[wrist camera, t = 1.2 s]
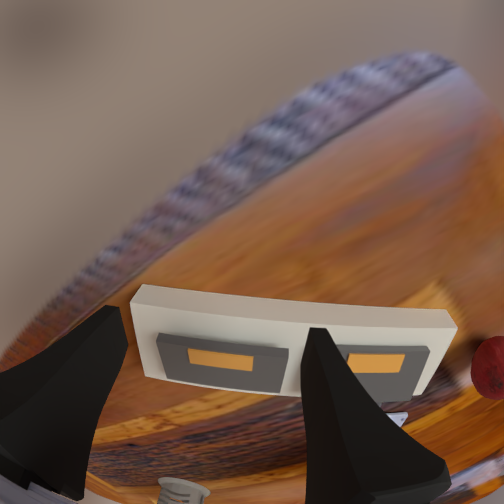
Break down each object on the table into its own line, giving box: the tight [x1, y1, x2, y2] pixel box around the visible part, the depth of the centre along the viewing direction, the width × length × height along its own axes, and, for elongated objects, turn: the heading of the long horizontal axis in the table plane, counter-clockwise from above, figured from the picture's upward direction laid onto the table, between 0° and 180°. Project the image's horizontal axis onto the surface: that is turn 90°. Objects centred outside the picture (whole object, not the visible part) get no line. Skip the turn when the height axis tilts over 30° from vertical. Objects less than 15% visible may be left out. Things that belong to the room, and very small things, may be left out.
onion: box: [471, 336, 504, 400], centre depth 20 cm, size 6×6×8 cm
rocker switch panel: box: [130, 284, 458, 407], centre depth 24 cm, size 12×25×3 cm, turn 86°
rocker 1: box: [156, 333, 289, 393], centre depth 22 cm, size 5×9×1 cm, turn 86°
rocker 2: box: [336, 344, 430, 402], centre depth 21 cm, size 5×9×1 cm, turn 86°
